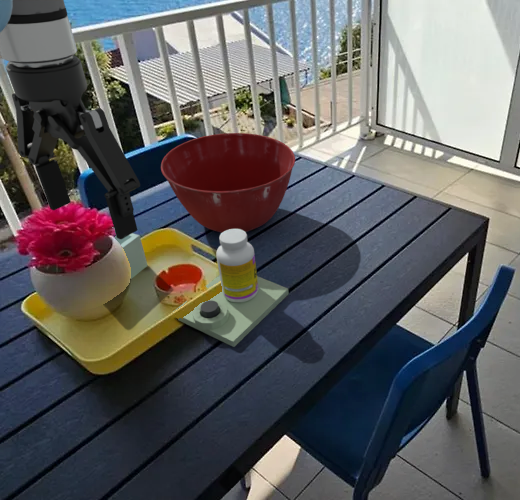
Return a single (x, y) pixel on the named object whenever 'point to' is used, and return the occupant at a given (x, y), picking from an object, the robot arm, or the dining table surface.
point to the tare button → (209, 309)
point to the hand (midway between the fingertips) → (92, 219)
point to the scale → (236, 312)
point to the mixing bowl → (230, 179)
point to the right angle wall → (134, 253)
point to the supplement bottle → (237, 266)
